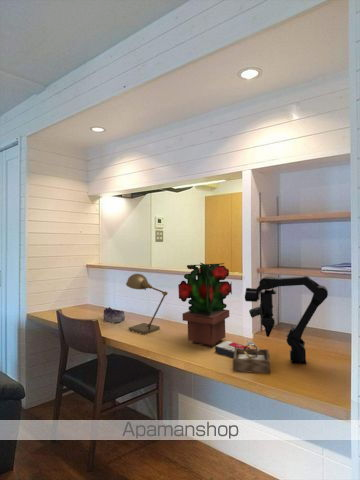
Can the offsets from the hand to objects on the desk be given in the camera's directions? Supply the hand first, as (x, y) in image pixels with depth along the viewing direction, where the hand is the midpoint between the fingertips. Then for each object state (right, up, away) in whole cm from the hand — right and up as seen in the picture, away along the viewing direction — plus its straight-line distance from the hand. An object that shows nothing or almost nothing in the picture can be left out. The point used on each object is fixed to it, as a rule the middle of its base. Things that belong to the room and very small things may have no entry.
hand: (267, 333), depth 163 cm
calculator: (-16, -13, +8) cm, 22 cm away
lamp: (-64, -13, +50) cm, 82 cm away
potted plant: (-28, -13, +26) cm, 40 cm away
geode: (-93, -13, +80) cm, 123 cm away
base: (-10, -13, -9) cm, 18 cm away
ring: (-10, -10, -9) cm, 16 cm away
